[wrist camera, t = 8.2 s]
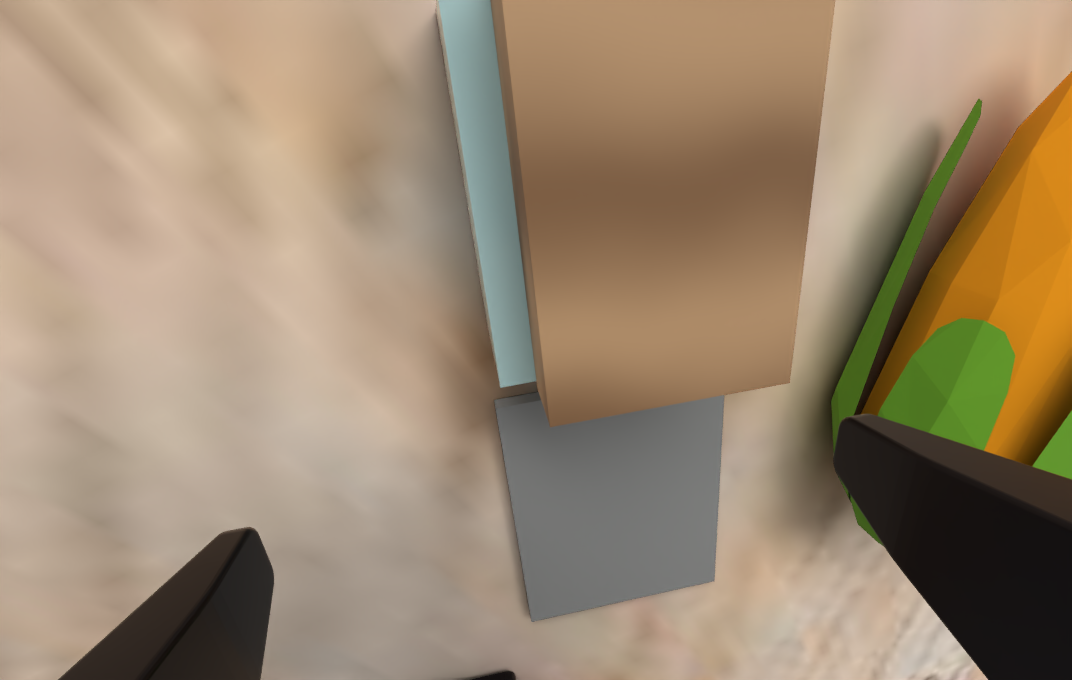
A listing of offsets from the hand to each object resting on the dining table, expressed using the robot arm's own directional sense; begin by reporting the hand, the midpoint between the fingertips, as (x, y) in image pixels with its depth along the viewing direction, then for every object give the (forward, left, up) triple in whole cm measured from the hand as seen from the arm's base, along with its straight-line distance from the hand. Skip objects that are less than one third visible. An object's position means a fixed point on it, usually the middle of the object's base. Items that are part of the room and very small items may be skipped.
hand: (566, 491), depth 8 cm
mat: (-11, -4, -12) cm, 17 cm away
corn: (-4, -17, -12) cm, 21 cm away
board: (+3, -4, -7) cm, 8 cm away
